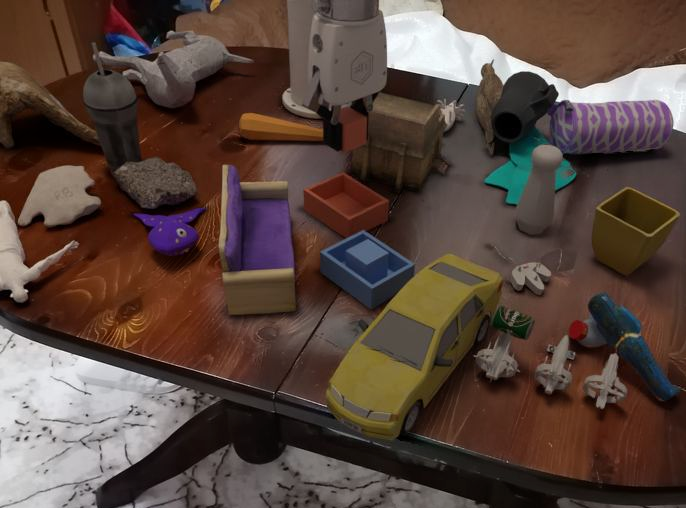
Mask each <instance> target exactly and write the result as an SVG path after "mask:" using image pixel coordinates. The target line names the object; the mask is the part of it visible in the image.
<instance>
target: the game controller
mask: <svg viewBox="0 0 686 508" xmlns="http://www.w3.org/2000/svg"><path fill="white" fill-rule="evenodd" d="M492 247H494V248H495V249H496V250H497V252H498V254H499V255H500V256H501V257H502V258H504V259H506V257H505V256H503V255H502V254H501V253H500V251H499V248H497V247H496V246H495V245H493V244H490V245H489V248H492ZM508 259H510V260H512V262H514V266H515V268H514V269H513V270H512V272H511V274H510V276H509V281H510V283H511V285H512V287H513V288H514V290H515V291H522V289H523V287H524V285H525V286H527V288H529V290H530V291H532V292H533V293H534V294H535V295H536V296H541V295H542V294H543V292H544V289H545V285H544V283H548V282H549V280H550V278H551V276H552V271H550V269H548V268H547V267H546V266H545V265H544V264H543V263H541V262H536V261H532V262H527V263H523V264H520V265H517V262H516V261H515V260H514V259H513V258H512V257H510V256H508Z"/></svg>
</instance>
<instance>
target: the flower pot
mask: <svg viewBox="0 0 686 508" xmlns="http://www.w3.org/2000/svg"><path fill="white" fill-rule="evenodd" d="M679 217H681V212H679V211H677V210H676V209H674V208H673V207H671V206H668V205H667V204H665V203H663V202H661V201H659V200H657V199H655V198H653V197H650V196H649V195H647V194H644V192H641V191H638V190H637V189H634V188H632V187H629V186H626V187H624V188H622V189H621V190H619V191H618V192H617V193H615V194H614V195H612V196H610V197H609V198H608V199H605V200H604V201H603V202H601V203H600V204H599V205H597V206H596V208H595V213H594V220H593V225H592V231H591V246H592V250H593V254H594V255H595V258H596V259H597V261H599V262H600V263H602V264H604V265H605V266H607V267H609V268H611V269H612V270H614V271H616V272H618V273H619V274H620V275H623V276H629V275H630V274H631V273H632V272H634V271H635V270H636V269H637V268H639V267H640V266H641V265H643V264H644V263H645V262H646V261H648V260H649V259H651V257H653V256H654V255H655V254H656V253H657V252H658V251H659V250H660V249H661V247H662V246H663V245H664V244H665V242H666V241H667V240H668V237H669V235H670V233H671V232H672V230H673V228H674V227H675V225H676V223H677V221H678V220H679Z"/></svg>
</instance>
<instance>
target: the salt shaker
mask: <svg viewBox="0 0 686 508" xmlns="http://www.w3.org/2000/svg"><path fill="white" fill-rule="evenodd" d="M563 155H564V153H562V152H561V151H560V150H559V149H558V148H557V147H555V146H551V145H540V146H538V147H536V148H535V149H534V151H533V153H532V159H531V162H532V164H533V165H534V166H533V168H532V170H531V173H530V175H529V178H528V180H527V183H526V185H525V187H524V190H523V192H522V195H521V197H520V199H519V202H518V204H517V205H516V207H515V210H514V211H515V212H514V216H515V219H516V221H517V224H518V229H519V230H520V231H521V232H524V233H525V234H528V235H531V236H532V235H541V234H542V233H543V232H544V231H545V229H546V228H548V227H549V225H551V224H552V223H553V220H554V217H555V201H556V200H555V199H556V190H555V177H556V170H557V169H558V168H559V167H560V166H561V163H562V158H563V157H564V156H563Z"/></svg>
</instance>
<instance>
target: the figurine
mask: <svg viewBox="0 0 686 508" xmlns="http://www.w3.org/2000/svg"><path fill="white" fill-rule="evenodd" d="M79 245H80V243H78V241H75V240H72V241H71V242H70V243H68V244H66V245H65V246H64V247H63V248H61V249H60V250H58V251H57V252H55V253H52V254H51V255H49V256H47V257H46V258H45V259H42V260H40V261H38V262H36V263H35V264H34V265H33V266H31V267H28V266H26V265H25V264H24V262H25V261H26V254H25V250H24V248H23V243H22V241H21V239H20V236H19V231H18V227H17V224H16V218H15V215H14V213H13V210H12V208H11V206H10V204H9V202H8V201H7V200H0V292H1V291H3V290H5V291H7V290H8V291H9V290H10V291H11V294H10V296H9V297H10V298H13V300H14V301H15V302H16V303H21V304H22V303H25V302H26V301H27V300H28V299H29V295H28V293H29V290H28V289H25V287H24V286H25V285H26V284H28V283H30V282H34V281H36V280H38V279H39V278H40V277H41V275H42V273H44V272H46V271H47V270H48V269H49V268H50V266H53V265H56V264H57V263H58V262H60V260H61V259H62V257H63V256H64V255H65V253H66V252H68V253H70V254H72V250H74V249H77V248H78V246H79Z"/></svg>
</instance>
